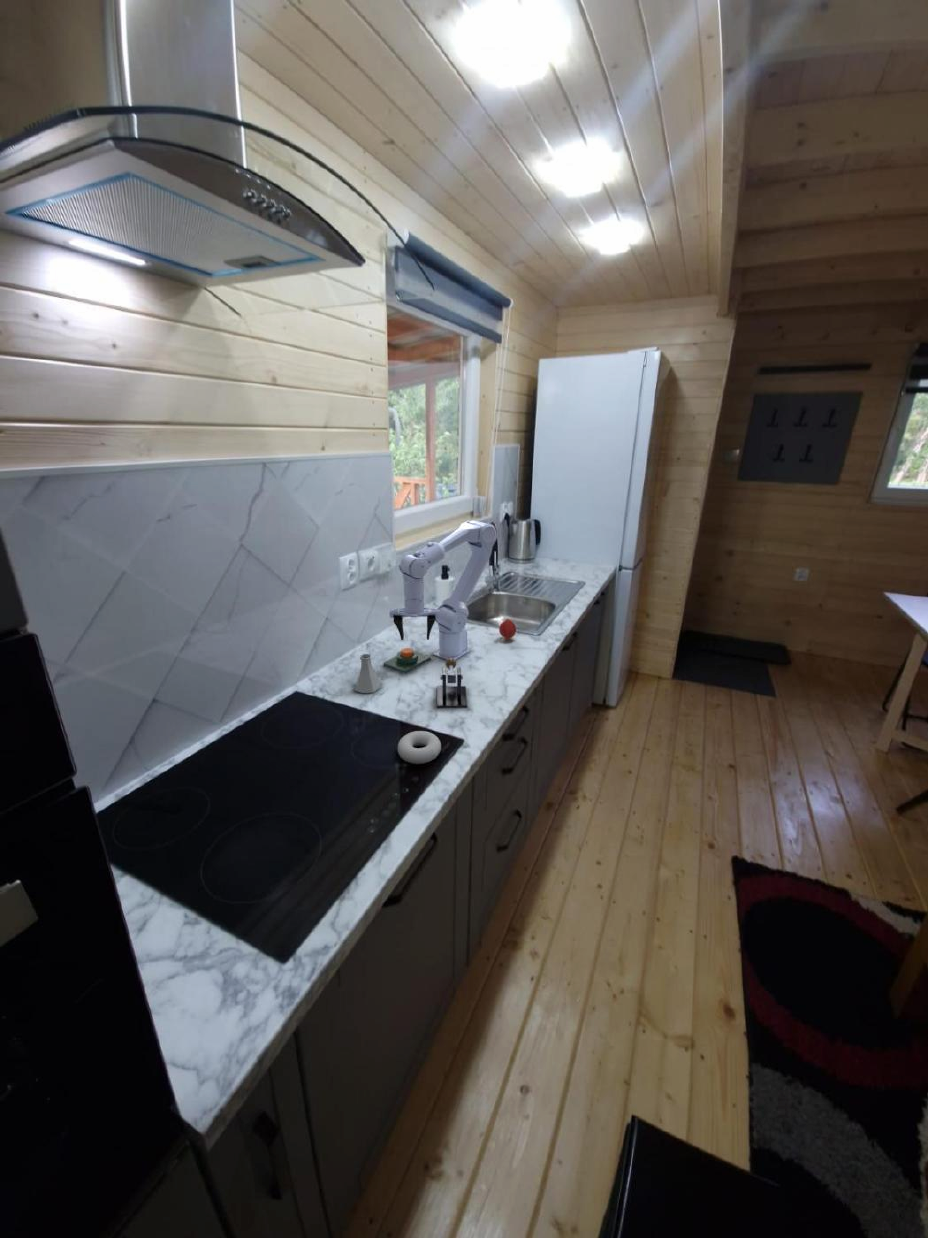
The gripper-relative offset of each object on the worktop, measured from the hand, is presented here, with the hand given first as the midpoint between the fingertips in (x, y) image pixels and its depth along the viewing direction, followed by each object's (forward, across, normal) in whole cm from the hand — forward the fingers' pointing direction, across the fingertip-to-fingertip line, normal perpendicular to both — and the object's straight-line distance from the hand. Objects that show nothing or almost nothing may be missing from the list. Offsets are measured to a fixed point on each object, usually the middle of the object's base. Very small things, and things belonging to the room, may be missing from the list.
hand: (415, 638), depth 150 cm
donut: (+9, +2, -43) cm, 44 cm away
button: (+6, -3, +2) cm, 7 cm away
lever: (+4, +10, -16) cm, 20 cm away
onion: (+9, +31, +18) cm, 37 cm away
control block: (+9, -3, +2) cm, 10 cm away
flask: (+9, -13, -13) cm, 21 cm away
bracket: (+9, +10, -20) cm, 25 cm away
